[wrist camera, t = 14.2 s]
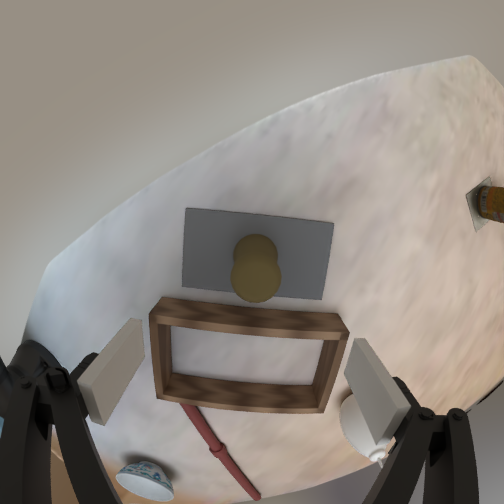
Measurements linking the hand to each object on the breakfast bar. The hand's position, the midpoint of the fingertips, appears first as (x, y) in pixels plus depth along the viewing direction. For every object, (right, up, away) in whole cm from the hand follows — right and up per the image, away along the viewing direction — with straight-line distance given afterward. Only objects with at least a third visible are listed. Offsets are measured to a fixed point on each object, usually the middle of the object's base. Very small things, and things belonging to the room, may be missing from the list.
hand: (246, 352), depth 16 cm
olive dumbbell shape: (+1, +5, +22) cm, 22 cm away
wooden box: (-1, -10, +25) cm, 27 cm away
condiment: (+42, +15, +20) cm, 49 cm away
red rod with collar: (-5, -40, +33) cm, 52 cm away
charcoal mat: (+1, +5, +22) cm, 23 cm away
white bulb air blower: (+19, -21, +28) cm, 40 cm away
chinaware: (-26, -50, +35) cm, 66 cm away
